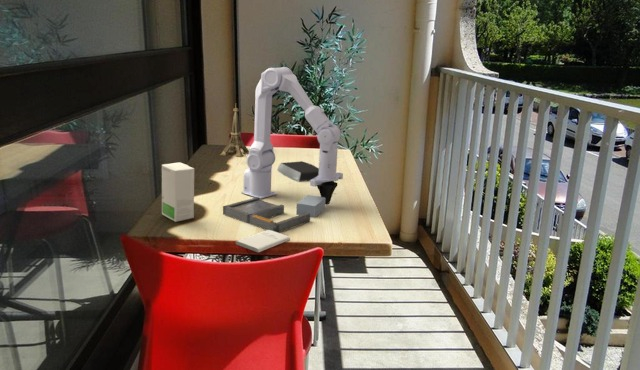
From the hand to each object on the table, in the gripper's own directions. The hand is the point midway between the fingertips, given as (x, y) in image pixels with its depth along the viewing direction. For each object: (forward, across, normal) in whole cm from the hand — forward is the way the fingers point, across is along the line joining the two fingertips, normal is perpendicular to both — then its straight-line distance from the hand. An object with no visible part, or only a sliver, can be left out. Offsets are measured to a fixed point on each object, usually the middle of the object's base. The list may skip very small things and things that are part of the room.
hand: (325, 203), depth 176 cm
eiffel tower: (+1, +31, +78) cm, 84 cm away
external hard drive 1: (+2, -37, -8) cm, 37 cm away
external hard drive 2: (+2, +25, +33) cm, 41 cm away
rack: (+1, -21, +5) cm, 22 cm away
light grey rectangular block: (+1, -7, 0) cm, 8 cm away
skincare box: (+1, -40, +24) cm, 47 cm away
